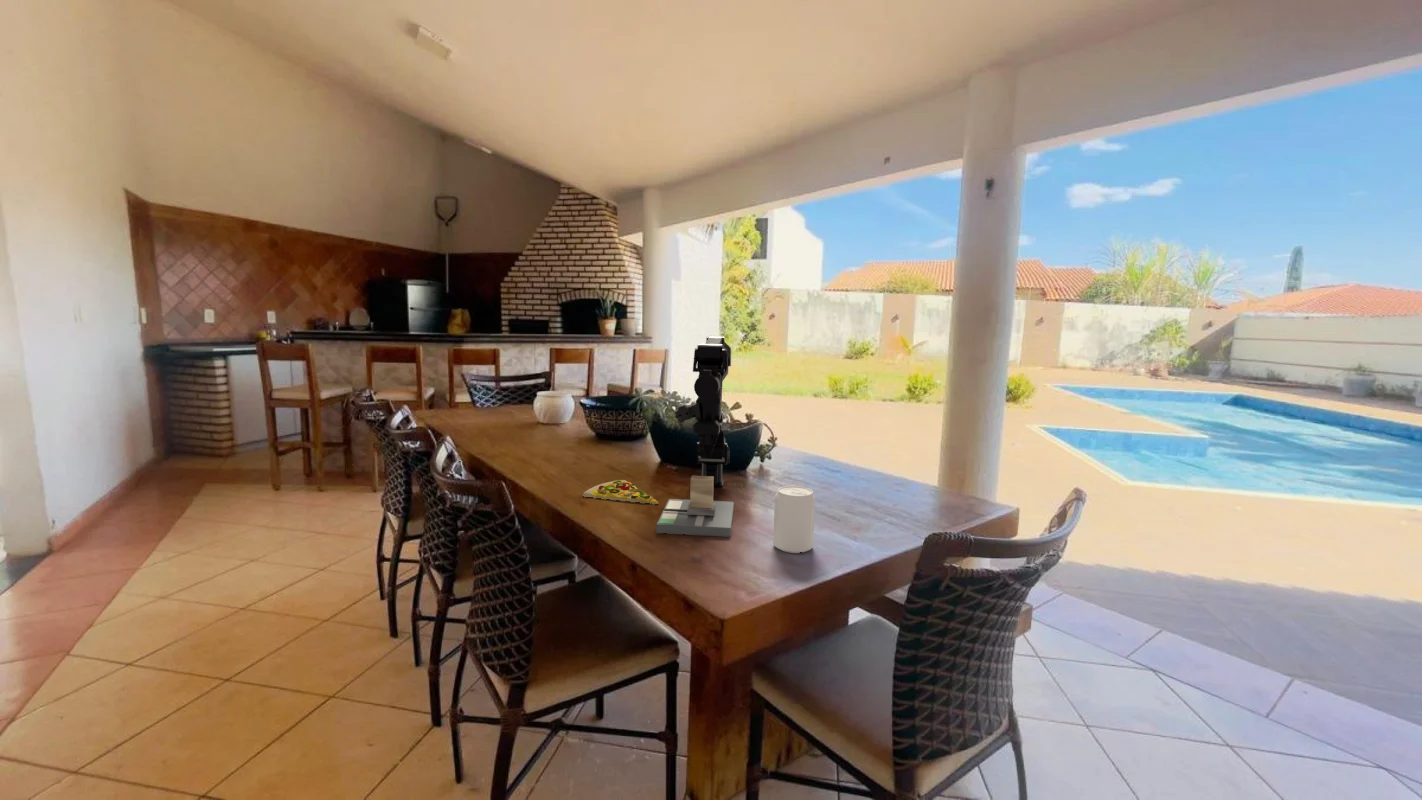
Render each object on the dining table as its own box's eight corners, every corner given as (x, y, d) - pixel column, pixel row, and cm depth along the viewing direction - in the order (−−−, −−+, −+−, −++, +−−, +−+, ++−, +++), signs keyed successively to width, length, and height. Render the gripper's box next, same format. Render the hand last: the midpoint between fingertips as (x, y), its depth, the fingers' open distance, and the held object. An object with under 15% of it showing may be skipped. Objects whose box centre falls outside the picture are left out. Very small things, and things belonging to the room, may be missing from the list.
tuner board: (668, 506, 142) (669, 497, 141) (733, 509, 140) (733, 500, 140) (656, 533, 124) (656, 522, 124) (730, 536, 123) (730, 526, 122)
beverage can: (784, 536, 123) (786, 482, 122) (819, 545, 119) (822, 489, 117) (765, 548, 117) (767, 491, 115) (801, 558, 112) (804, 499, 111)
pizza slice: (621, 485, 162) (621, 475, 161) (677, 500, 149) (677, 489, 149) (578, 498, 149) (578, 487, 149) (636, 515, 137) (636, 503, 137)
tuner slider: (665, 507, 134) (666, 473, 133) (715, 509, 133) (716, 475, 132) (662, 514, 129) (662, 479, 128) (713, 516, 128) (714, 481, 127)
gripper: (682, 389, 153) (681, 446, 155) (672, 398, 134) (671, 462, 137) (723, 390, 152) (722, 447, 154) (719, 399, 134) (717, 464, 136)
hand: (708, 455), depth 145 cm, fingers open, 4 cm apart
